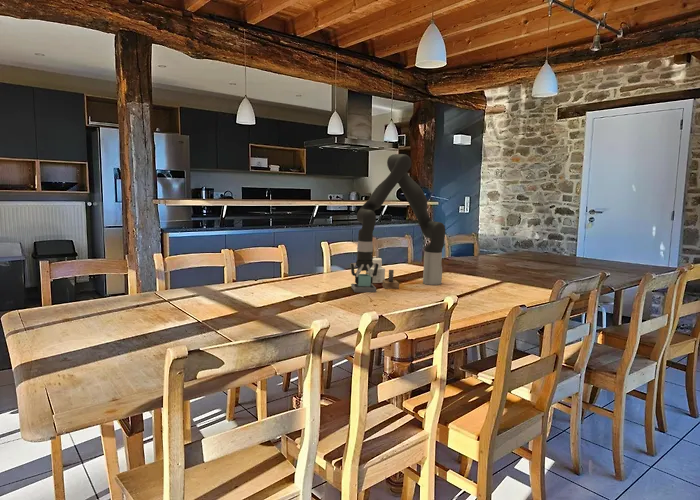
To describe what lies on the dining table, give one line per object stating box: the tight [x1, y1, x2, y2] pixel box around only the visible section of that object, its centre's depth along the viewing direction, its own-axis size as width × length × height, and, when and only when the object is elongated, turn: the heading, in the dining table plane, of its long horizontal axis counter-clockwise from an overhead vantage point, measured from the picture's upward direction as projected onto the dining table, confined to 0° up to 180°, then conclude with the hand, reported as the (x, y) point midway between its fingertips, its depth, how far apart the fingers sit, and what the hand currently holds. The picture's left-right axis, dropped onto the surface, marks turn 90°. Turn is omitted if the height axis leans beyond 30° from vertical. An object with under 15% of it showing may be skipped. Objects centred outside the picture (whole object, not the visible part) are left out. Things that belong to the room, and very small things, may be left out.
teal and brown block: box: [381, 269, 400, 290], centre depth 244 cm, size 7×7×9 cm
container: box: [365, 256, 386, 284], centre depth 257 cm, size 8×8×13 cm
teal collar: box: [357, 273, 372, 286], centre depth 236 cm, size 6×6×5 cm
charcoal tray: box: [350, 283, 377, 293], centre depth 237 cm, size 11×11×2 cm
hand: (363, 283), depth 236 cm, fingers closed on teal collar, 5 cm apart
